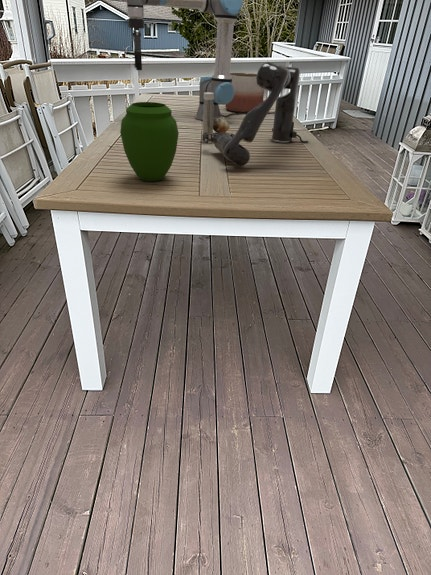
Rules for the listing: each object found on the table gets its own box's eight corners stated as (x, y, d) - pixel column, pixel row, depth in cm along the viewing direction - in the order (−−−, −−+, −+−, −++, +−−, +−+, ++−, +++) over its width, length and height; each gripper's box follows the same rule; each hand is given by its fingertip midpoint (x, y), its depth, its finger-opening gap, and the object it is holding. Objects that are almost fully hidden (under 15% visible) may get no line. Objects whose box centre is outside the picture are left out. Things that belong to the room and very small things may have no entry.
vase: (131, 189, 135) (125, 110, 122) (118, 172, 150) (112, 100, 137) (186, 184, 142) (187, 109, 129) (169, 168, 157) (167, 99, 144)
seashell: (228, 132, 219) (229, 116, 215) (229, 134, 214) (230, 118, 210) (210, 131, 218) (211, 115, 213) (211, 134, 213) (212, 117, 209)
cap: (210, 98, 190) (210, 92, 189) (215, 99, 187) (215, 93, 186) (201, 98, 188) (202, 92, 187) (206, 100, 185) (206, 93, 183)
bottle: (209, 140, 201) (211, 93, 189) (214, 143, 197) (216, 94, 186) (200, 141, 198) (201, 93, 187) (205, 143, 195) (206, 94, 184)
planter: (266, 114, 273) (270, 77, 261) (229, 113, 269) (231, 75, 257) (257, 107, 294) (260, 73, 283) (222, 107, 290) (224, 72, 278)
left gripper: (127, 18, 203) (130, 66, 215) (128, 17, 183) (131, 70, 194) (142, 19, 205) (144, 67, 216) (145, 18, 184) (147, 71, 196)
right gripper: (241, 133, 171) (230, 125, 184) (208, 134, 168) (199, 125, 181) (240, 152, 175) (229, 142, 188) (208, 152, 172) (199, 143, 185)
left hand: (138, 69), depth 205 cm, fingers open, 13 cm apart
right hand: (214, 134), depth 184 cm, fingers open, 8 cm apart
